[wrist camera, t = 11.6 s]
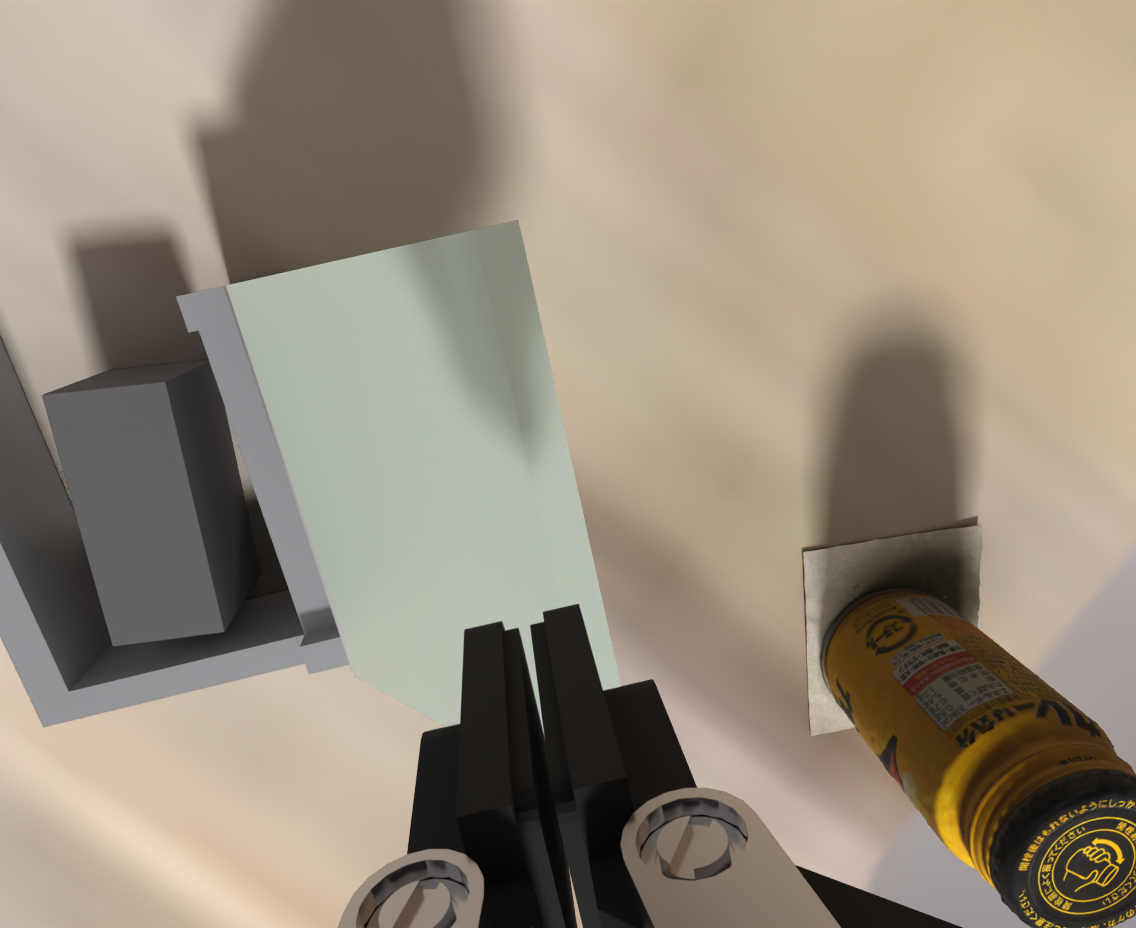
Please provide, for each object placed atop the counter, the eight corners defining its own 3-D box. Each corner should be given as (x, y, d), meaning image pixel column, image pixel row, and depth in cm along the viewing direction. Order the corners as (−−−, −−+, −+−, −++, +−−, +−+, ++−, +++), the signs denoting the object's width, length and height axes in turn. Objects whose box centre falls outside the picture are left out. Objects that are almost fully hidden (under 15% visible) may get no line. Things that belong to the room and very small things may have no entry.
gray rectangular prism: (112, 369, 27) (41, 395, 23) (215, 358, 27) (165, 381, 23) (167, 584, 29) (112, 646, 25) (262, 573, 30) (224, 632, 25)
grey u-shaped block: (-38, 344, 26) (-152, 369, 21) (289, 271, 27) (248, 280, 22) (101, 660, 30) (30, 742, 25) (387, 591, 30) (371, 659, 25)
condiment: (809, 733, 34) (976, 986, 23) (801, 550, 32) (984, 730, 20) (972, 704, 35) (1216, 937, 23) (977, 521, 32) (1252, 682, 21)
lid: (473, 229, 13) (517, 220, 14) (217, 287, 21) (252, 279, 22) (613, 818, 17) (644, 789, 17) (346, 672, 25) (374, 656, 26)
